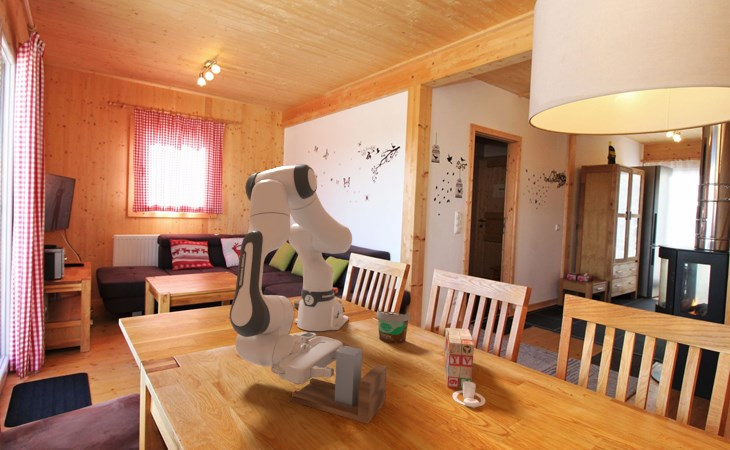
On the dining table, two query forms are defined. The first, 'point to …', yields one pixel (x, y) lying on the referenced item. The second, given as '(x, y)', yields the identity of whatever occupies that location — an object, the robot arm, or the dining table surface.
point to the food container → (392, 326)
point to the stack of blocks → (458, 356)
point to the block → (348, 375)
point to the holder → (363, 411)
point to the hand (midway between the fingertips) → (342, 365)
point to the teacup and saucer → (469, 395)
